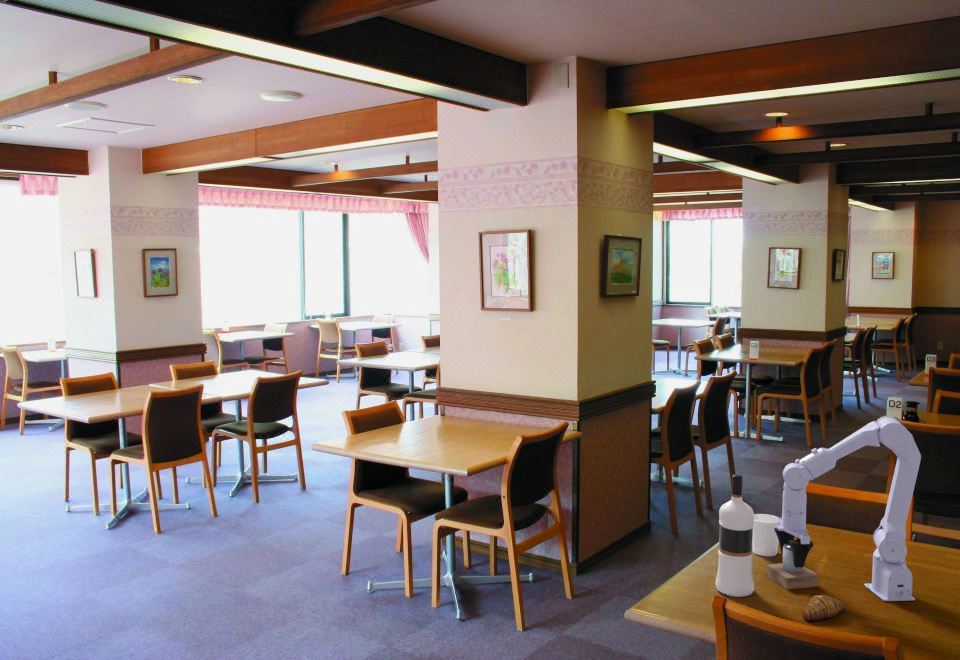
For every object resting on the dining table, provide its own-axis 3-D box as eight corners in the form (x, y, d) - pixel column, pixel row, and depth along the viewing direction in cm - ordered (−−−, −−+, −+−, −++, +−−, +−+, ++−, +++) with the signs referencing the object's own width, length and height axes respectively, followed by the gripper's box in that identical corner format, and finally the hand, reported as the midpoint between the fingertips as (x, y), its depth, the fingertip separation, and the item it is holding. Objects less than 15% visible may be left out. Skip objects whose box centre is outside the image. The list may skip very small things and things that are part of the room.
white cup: (775, 547, 230) (776, 514, 229) (782, 558, 222) (783, 523, 221) (747, 546, 231) (748, 513, 230) (753, 557, 223) (754, 522, 222)
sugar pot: (805, 572, 204) (806, 549, 204) (787, 573, 204) (788, 549, 203) (796, 565, 209) (797, 542, 208) (779, 566, 208) (779, 543, 208)
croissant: (829, 603, 194) (829, 583, 193) (854, 614, 188) (855, 594, 187) (792, 616, 187) (792, 596, 187) (817, 628, 181) (817, 606, 181)
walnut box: (817, 586, 203) (818, 575, 203) (786, 589, 201) (786, 578, 201) (796, 572, 212) (797, 561, 212) (766, 575, 210) (766, 564, 210)
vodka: (713, 594, 198) (715, 477, 196) (717, 580, 207) (720, 468, 204) (752, 601, 195) (755, 481, 192) (755, 586, 203) (758, 472, 200)
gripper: (767, 501, 212) (766, 551, 213) (791, 519, 197) (789, 572, 199) (793, 501, 212) (791, 550, 213) (818, 519, 198) (816, 572, 199)
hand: (792, 561), depth 206 cm, fingers open, 7 cm apart
